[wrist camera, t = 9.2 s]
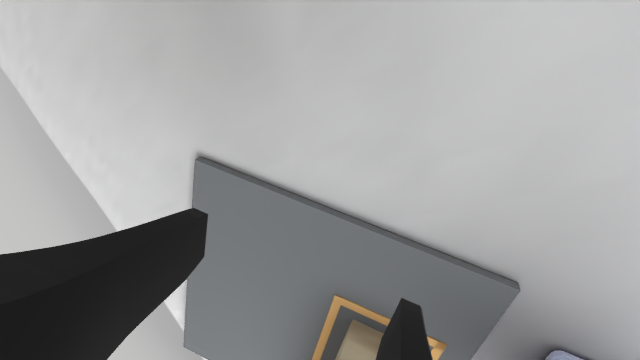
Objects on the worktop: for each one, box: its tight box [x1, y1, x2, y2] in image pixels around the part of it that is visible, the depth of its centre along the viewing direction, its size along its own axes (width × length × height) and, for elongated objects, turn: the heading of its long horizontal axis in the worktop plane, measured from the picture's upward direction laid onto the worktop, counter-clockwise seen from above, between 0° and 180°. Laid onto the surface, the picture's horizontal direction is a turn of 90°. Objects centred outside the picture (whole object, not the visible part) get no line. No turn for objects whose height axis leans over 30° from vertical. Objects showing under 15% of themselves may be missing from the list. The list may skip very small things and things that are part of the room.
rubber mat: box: [184, 157, 520, 360], centre depth 26 cm, size 21×20×1 cm
